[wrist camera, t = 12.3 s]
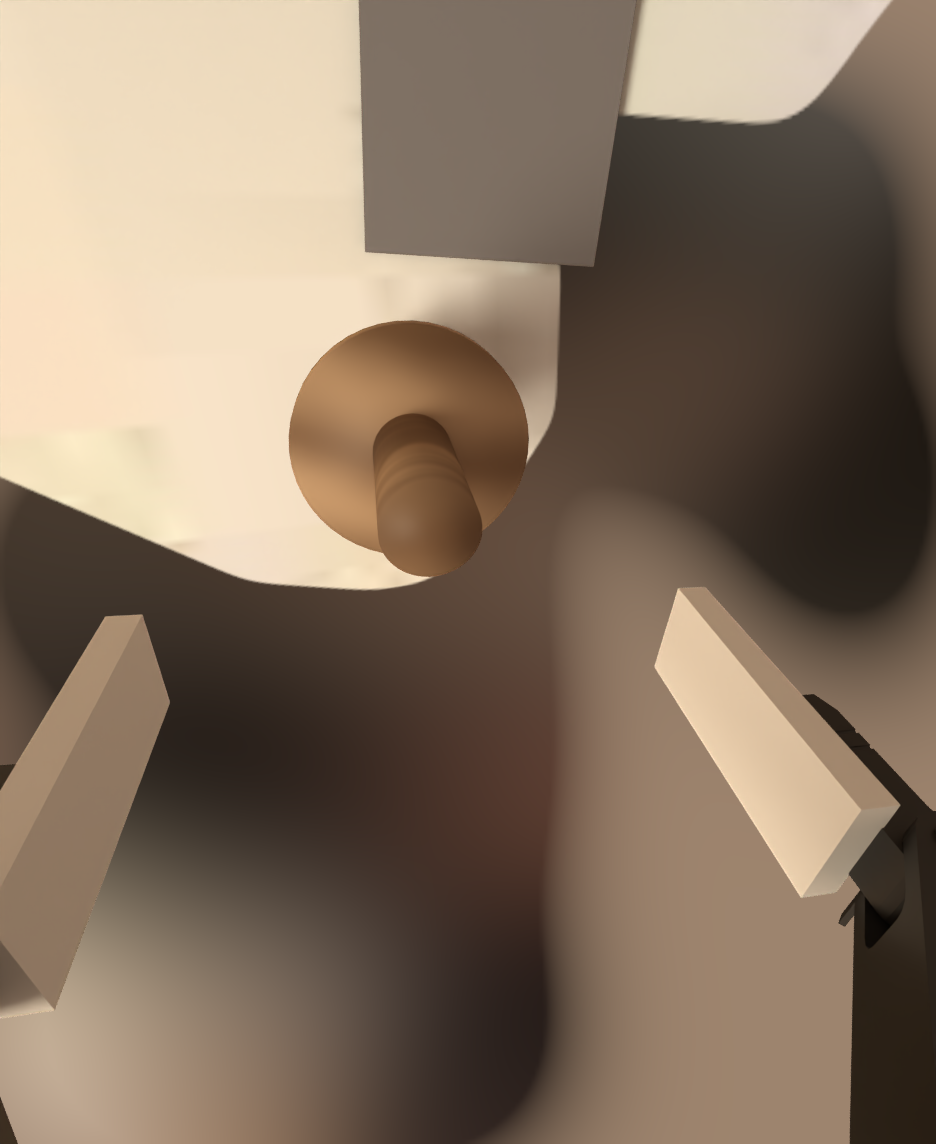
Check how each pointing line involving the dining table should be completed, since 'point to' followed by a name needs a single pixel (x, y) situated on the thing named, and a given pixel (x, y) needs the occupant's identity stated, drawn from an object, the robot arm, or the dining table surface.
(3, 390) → the dining table surface
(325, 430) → the lid
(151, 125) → the dining table surface
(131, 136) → the dining table surface
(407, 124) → the mat
